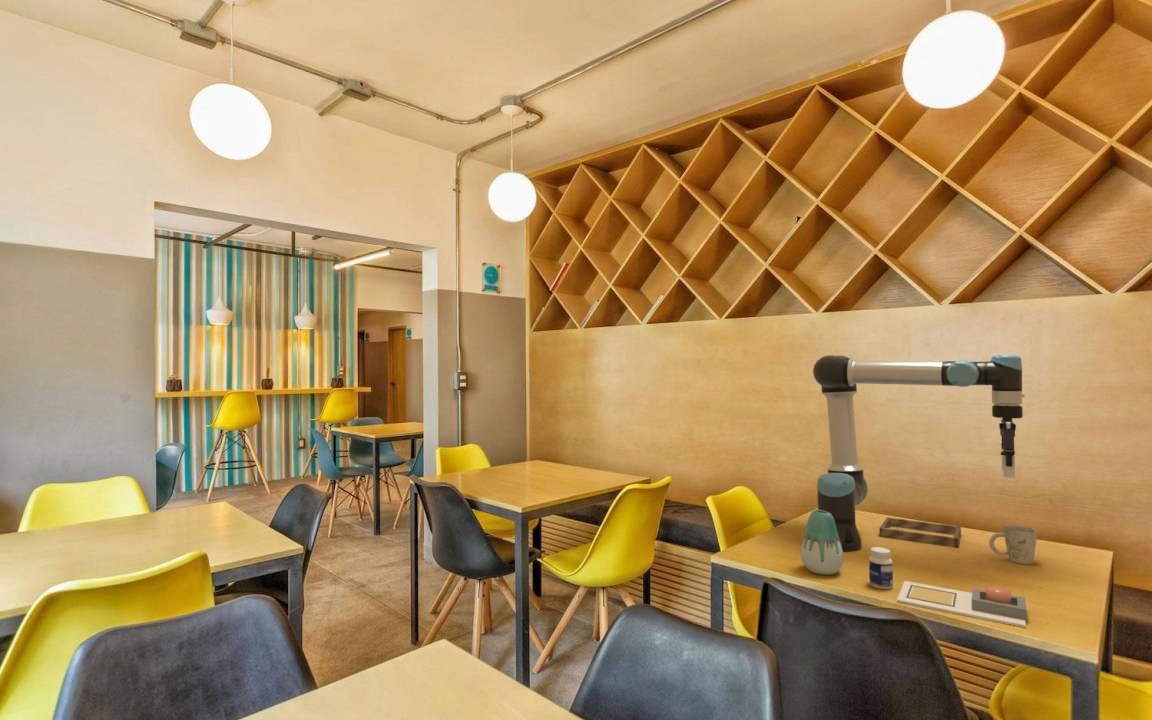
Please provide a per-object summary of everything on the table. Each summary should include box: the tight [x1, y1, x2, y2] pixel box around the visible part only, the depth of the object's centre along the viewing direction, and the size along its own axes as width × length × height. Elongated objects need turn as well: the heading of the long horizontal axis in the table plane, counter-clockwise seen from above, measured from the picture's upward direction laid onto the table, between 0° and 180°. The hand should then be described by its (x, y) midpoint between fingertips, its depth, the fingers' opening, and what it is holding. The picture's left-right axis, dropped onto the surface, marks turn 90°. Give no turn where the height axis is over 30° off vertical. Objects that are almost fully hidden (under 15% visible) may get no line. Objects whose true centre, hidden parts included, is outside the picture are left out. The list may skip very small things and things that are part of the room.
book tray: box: [878, 517, 962, 549], centre depth 205 cm, size 23×18×3 cm
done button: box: [985, 585, 1012, 605], centre depth 141 cm, size 5×5×3 cm
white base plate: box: [896, 580, 1028, 629], centre depth 146 cm, size 26×16×3 cm, turn 54°
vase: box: [800, 509, 844, 576], centre depth 170 cm, size 12×12×18 cm
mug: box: [988, 524, 1038, 565], centre depth 178 cm, size 8×13×10 cm, turn 78°
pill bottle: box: [868, 546, 894, 590], centre depth 158 cm, size 6×6×10 cm
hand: (1008, 474), depth 177 cm, fingers open, 13 cm apart
